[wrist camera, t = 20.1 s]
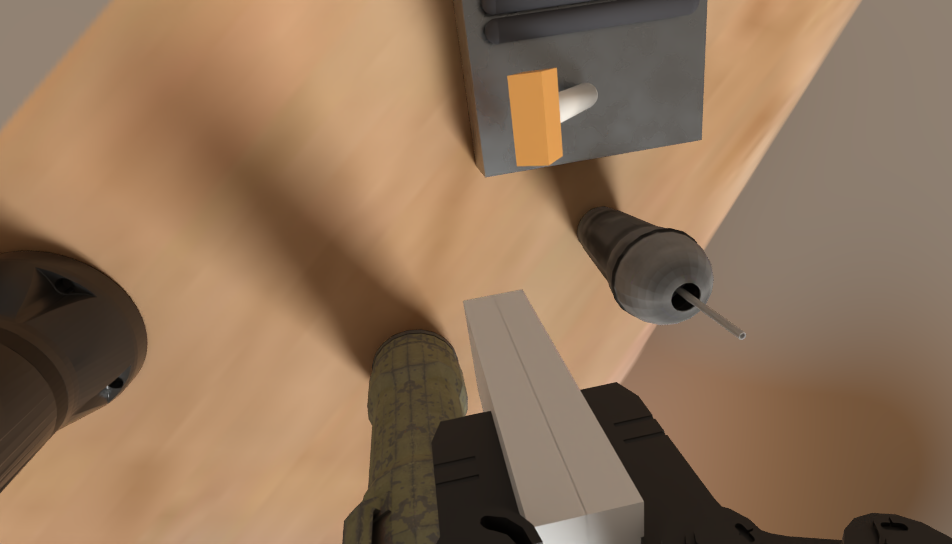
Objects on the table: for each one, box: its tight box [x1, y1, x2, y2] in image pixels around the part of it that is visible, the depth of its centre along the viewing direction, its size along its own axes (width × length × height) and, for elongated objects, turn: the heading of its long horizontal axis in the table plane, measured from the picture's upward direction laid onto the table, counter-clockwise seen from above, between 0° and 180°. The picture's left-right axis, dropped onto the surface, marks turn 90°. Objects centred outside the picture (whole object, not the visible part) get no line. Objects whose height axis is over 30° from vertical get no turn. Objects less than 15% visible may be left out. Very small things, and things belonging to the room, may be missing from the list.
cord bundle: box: [481, 0, 700, 44], centre depth 34 cm, size 16×3×2 cm, turn 98°
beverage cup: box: [577, 207, 746, 339], centre depth 38 cm, size 7×7×20 cm
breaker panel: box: [453, 0, 707, 177], centre depth 37 cm, size 18×22×5 cm
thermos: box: [342, 330, 468, 544], centre depth 34 cm, size 9×12×35 cm
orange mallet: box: [507, 68, 598, 166], centre depth 32 cm, size 2×5×12 cm
